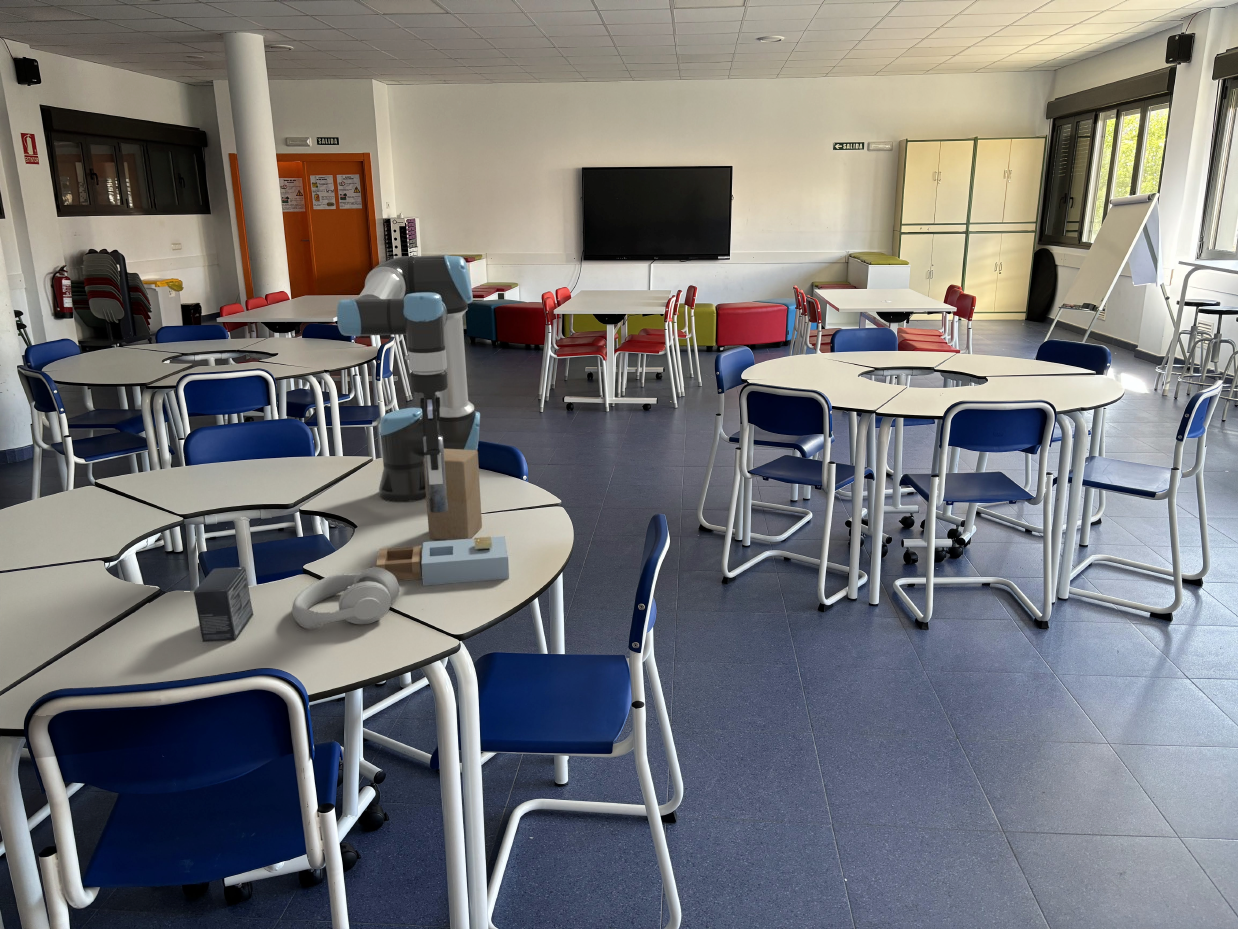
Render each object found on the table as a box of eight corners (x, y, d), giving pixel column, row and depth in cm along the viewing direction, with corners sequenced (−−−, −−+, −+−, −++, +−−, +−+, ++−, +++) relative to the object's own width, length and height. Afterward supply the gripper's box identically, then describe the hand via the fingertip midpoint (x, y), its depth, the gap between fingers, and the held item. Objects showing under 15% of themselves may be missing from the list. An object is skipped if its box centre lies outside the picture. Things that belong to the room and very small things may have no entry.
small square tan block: (475, 561, 191) (474, 537, 189) (492, 560, 192) (490, 536, 190) (476, 568, 188) (474, 544, 186) (492, 567, 188) (491, 542, 187)
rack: (381, 565, 192) (379, 548, 191) (422, 562, 194) (421, 545, 193) (378, 582, 184) (376, 565, 183) (421, 578, 185) (419, 561, 184)
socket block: (424, 563, 193) (423, 542, 192) (505, 556, 197) (504, 536, 195) (423, 585, 182) (421, 563, 181) (509, 578, 185) (508, 556, 184)
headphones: (412, 589, 179) (319, 600, 181) (404, 555, 177) (310, 566, 179) (384, 632, 161) (282, 644, 163) (375, 594, 159) (271, 606, 161)
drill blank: (429, 506, 186) (423, 435, 181) (447, 505, 187) (442, 434, 182) (428, 513, 182) (422, 440, 178) (447, 512, 183) (442, 439, 178)
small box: (220, 616, 169) (212, 567, 166) (254, 614, 170) (247, 565, 167) (199, 642, 159) (191, 590, 156) (236, 641, 160) (228, 589, 157)
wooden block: (468, 542, 205) (463, 461, 199) (428, 539, 207) (422, 459, 201) (482, 527, 214) (478, 449, 208) (444, 524, 216) (439, 447, 210)
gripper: (410, 363, 183) (419, 468, 190) (407, 380, 167) (416, 494, 174) (447, 362, 184) (454, 466, 191) (446, 378, 168) (454, 492, 175)
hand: (436, 479), depth 183 cm, fingers closed on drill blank, 4 cm apart
